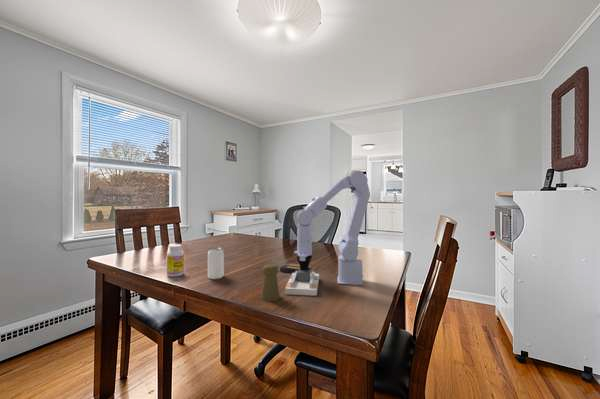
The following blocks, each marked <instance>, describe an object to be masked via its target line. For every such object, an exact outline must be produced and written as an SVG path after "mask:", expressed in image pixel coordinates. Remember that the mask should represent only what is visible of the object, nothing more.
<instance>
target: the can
mask: <svg viewBox="0 0 600 399" xmlns="http://www.w3.org/2000/svg"><path fill="white" fill-rule="evenodd" d="M224 253H225V251H224V250H223V247H211V248H208V252H207V278H208V279H209V280H220V279H222V278H223V277H224V275H225V273H224V272H225V262H224V261H225V260H224V259H225V258H224V257H225V254H224Z"/></svg>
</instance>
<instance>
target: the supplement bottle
mask: <svg viewBox="0 0 600 399" xmlns="http://www.w3.org/2000/svg"><path fill="white" fill-rule="evenodd" d="M182 245H183V244H178V243H177V244H171V245H169V251H168V252H167V253H166V276H168V277H170V278H171V277H179V276H182V275H183V274H185V273H184V272H185V269H184V268H185V267H184V266H185V251H183V250H182V247H183V246H182Z"/></svg>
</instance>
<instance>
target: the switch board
mask: <svg viewBox="0 0 600 399" xmlns="http://www.w3.org/2000/svg"><path fill="white" fill-rule="evenodd" d="M296 273H297V271H295V273H291V276H290V278H289V280H288V282H287V283H286V286H285V288H284V295H292V296H293V295H294V296H317V295H318V294H317V293H318V288H319V280H320V273H316V272H315V271H312V272H311V278H310V281H296Z"/></svg>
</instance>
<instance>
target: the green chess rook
mask: <svg viewBox="0 0 600 399" xmlns="http://www.w3.org/2000/svg"><path fill="white" fill-rule="evenodd" d="M278 272H279V267H278V266H277V264H274V263H273V264H272V263H269V264H265V265H264V266H263V268H262V274H263V276H264V277H263V283H262V292H261V300H263V301H264V302H265V301H266V302H274V301H277V300H279V299H280V293H279V292H280V291H279V285H278V277H277V275H278Z"/></svg>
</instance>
